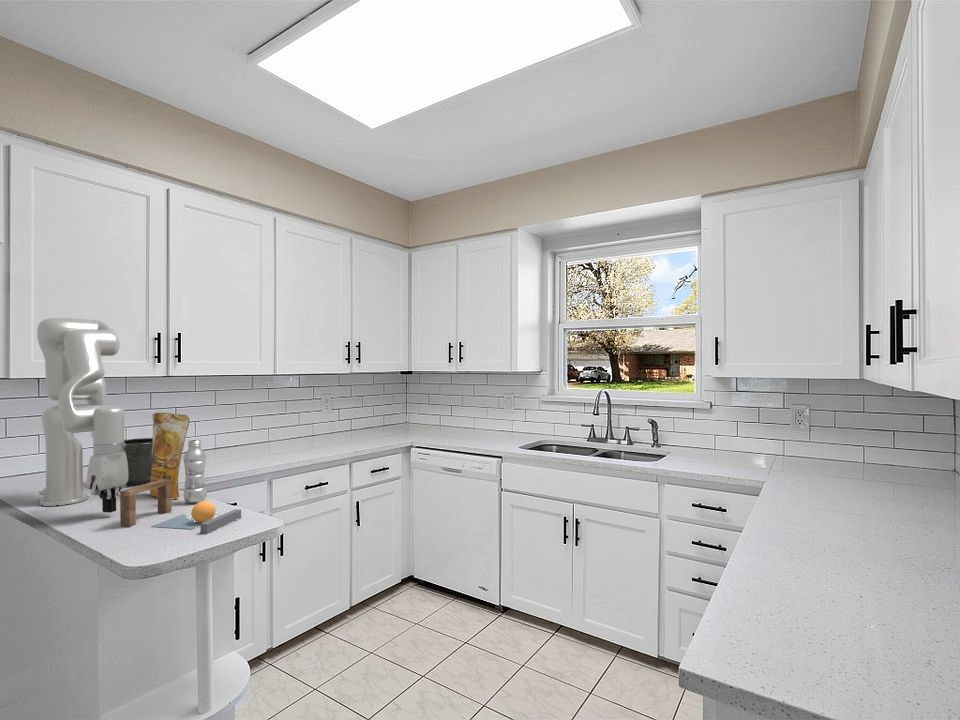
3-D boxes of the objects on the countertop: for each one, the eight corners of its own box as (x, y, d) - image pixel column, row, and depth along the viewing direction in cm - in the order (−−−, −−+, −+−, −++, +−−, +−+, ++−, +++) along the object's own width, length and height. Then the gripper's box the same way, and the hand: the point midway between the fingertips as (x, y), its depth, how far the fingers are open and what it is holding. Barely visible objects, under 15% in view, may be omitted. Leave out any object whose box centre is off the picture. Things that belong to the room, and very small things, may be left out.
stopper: (200, 533, 139) (200, 523, 139) (235, 517, 153) (235, 509, 153) (207, 533, 139) (207, 524, 139) (241, 518, 152) (241, 509, 152)
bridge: (120, 526, 146) (120, 491, 146) (163, 511, 160) (162, 479, 160) (129, 526, 145) (129, 491, 145) (171, 511, 160) (171, 479, 160)
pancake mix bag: (163, 490, 187) (162, 411, 187) (192, 497, 177) (191, 413, 177) (142, 494, 182) (142, 413, 182) (171, 502, 171) (170, 415, 171)
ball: (199, 529, 145) (183, 518, 146) (214, 523, 151) (198, 512, 152) (208, 511, 145) (191, 499, 146) (223, 505, 151) (207, 494, 152)
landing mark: (151, 527, 145) (151, 526, 145) (186, 513, 158) (186, 512, 158) (192, 529, 142) (192, 528, 142) (224, 515, 155) (224, 515, 155)
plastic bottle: (211, 500, 172) (211, 439, 172) (194, 506, 166) (193, 442, 166) (196, 499, 174) (195, 438, 174) (178, 504, 168) (178, 441, 168)
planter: (137, 490, 188) (137, 445, 188) (96, 488, 191) (95, 444, 191) (173, 479, 205) (173, 438, 205) (135, 478, 208) (134, 437, 208)
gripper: (120, 445, 163) (120, 504, 163) (74, 453, 149) (74, 518, 149) (140, 445, 162) (141, 505, 162) (96, 453, 147) (96, 519, 147)
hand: (109, 511), depth 155 cm, fingers closed
